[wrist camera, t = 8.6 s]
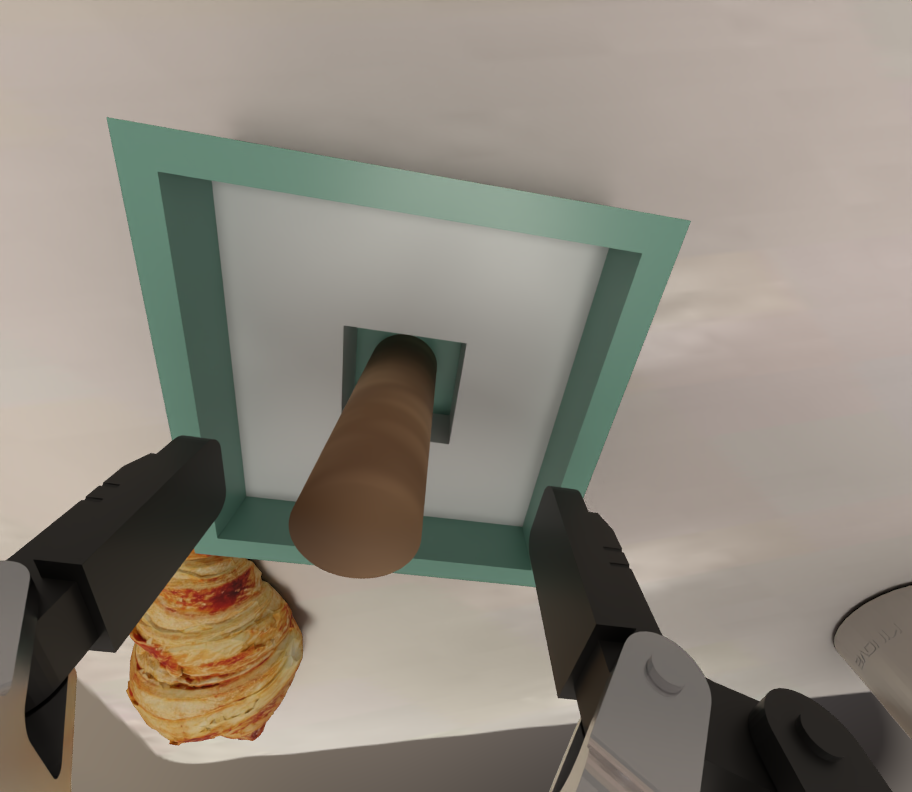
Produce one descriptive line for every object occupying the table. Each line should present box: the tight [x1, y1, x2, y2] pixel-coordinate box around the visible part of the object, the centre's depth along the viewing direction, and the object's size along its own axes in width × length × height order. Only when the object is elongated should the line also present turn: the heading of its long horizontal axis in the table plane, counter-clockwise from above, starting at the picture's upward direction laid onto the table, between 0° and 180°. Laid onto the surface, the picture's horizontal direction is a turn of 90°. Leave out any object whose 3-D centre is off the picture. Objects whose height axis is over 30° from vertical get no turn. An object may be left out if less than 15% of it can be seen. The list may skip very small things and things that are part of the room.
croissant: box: [126, 549, 303, 745], centre depth 25 cm, size 21×10×8 cm, turn 178°
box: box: [107, 117, 691, 587], centre depth 16 cm, size 15×15×6 cm
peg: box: [289, 334, 437, 578], centre depth 13 cm, size 3×3×10 cm
